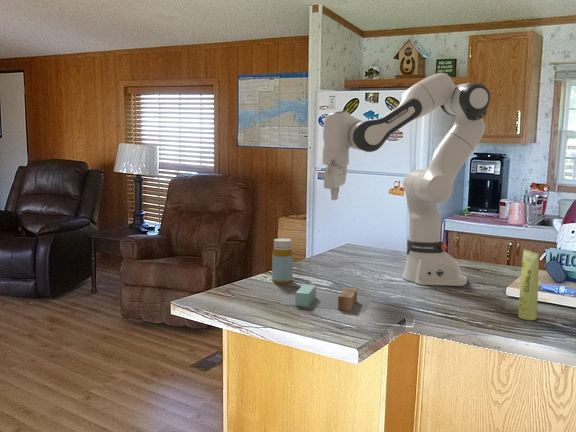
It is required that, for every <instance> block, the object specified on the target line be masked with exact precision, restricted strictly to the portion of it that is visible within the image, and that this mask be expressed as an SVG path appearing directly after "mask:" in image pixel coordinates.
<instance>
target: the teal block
mask: <svg viewBox="0 0 576 432" xmlns="http://www.w3.org/2000/svg"><path fill="white" fill-rule="evenodd" d="M296 291H297V292H296V298H295V306H296V307H304V306H305V308H310V307H309V305H310V304H311V303H312V302H313V301H314V299H315V298H316V292H317V285H314V284H302V286H301V287H300V288H299V289H297V290H296Z"/></svg>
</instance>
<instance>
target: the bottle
mask: <svg viewBox="0 0 576 432" xmlns="http://www.w3.org/2000/svg"><path fill="white" fill-rule="evenodd" d="M292 243H293V240H292V238H287V237H283V238H282V237H278V238H275V239H273V250H272V255H271V256H272V258H271V259H272V263H271V264H272V265H271V266H272V269H271V270H272V272H271V274H272V275H271V276H272V278H271V279H272V282H273V283H276V284H288V283H289V284H290V283H291V282H292V281H293V266H294V265H293V260H294V254H293V249H292Z"/></svg>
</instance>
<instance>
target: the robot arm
mask: <svg viewBox="0 0 576 432" xmlns="http://www.w3.org/2000/svg"><path fill="white" fill-rule="evenodd" d="M490 102H491V93H490V91H489V89H488V88H487V86H485V85H484V84H481V83H478V82H470V83H469V82H467V83H461V84H455V82H454V81H453V79H452V78H451V76H450V75H449V74H447V73H444V72H438V73H435V74H432V75H430V76H427V77H426V78H424V79H421V80H419V81H418V82H416V83H414V84H413V85H412V86H410V87H409V88H407V89H406V90H405V91H404V92H403V93H401V95H400V97H399V105H398V106H397V107H395V108H394V109H392V110H391V111H389V112H387V113H386V114H385V115H384V114H383V116H381V117H380V118H377V119H371V120H365V121H363V120H361V119H358V118H357V117H355V116H353V115H351V113H349V112H348V111H347V110H340V111H333V112H330V113H329V112H328V114H327V115H326V116H325V118H324V121H323V128H322V129H323V131H322V139H323V147H322V165H325V167H324V172H323V173H324V176H323V177H324V178H323V188H324V189H326V190H327V189H329V191H330V199H331V201H337V200H338V199H339V192H340V186H344V185H346V179H347V170H348V165H349V163H350V162H349V161H350V158H349V154H350V153H349V151H350V148H352V149H353V150H359V151H363V152H366V153H373V152H376V151H377V150H379V149H380V148H381V147H383V145H384V143H385V142H386V140H388V138H389V137H390V136H391V135H392V134H394V133H395V132H397V131H398V130H400V129H401V128H403V127H404V126H405V125H407V124H408V123H410V122H412V121H415V120H417V119H419V118H422V117H424V116H426V115H429V113H431V112H433V111H434V110H436V109H438V108H439V107H440V108H441V110H442V111H443V112H444V113H445V114H447V115H450V116H452V117H455V119H454V122H453V125H452V126H451V128H450V129H449V130H448V131H447V133H446V134H445V135H444V137H443V138H442V139H441V141H440V142H439V143H438V145H436V147H435V149H434V150H433V153H432V159H431V161H430V163H429V165H428V167H427V168H426V169H425V170H424V169H416V170H412V171H410V172H408V173H407V174H406V175H405V177H404V178H403V181H402V188H403V191H404V192H405V196H406V203H407V204H406V205H407V210H408V218H409V219H408V238H407V240H406V262H405V267H404V270H403V273H402V278H403V279H404V280H405V281H408V282H412V283H414V284H415V283H416V284H418V285H424V286H426V285H427V286H449V287H450V286H455V287H462V286H465V285H467V283H468V278H467V277H466V276H465V275H464V274H462V269H461V266H460V263H459V262H458V261H457V260H456V259H455V258H453V257H452V256H451V255H450V254H449V253H447V252H446V251H447V248H448V246H447V243H445V242H444V241H442V240H441V230H442V229H441V228H442V218H441V215H440V214H439V211H438V205H437V204H441V203H444V202H446V201H448V200H449V199H450V198H451V197H452V194H453V190H454V187H453V186H454V183H455V180H456V178H457V175H458V174H459V172H460V170H461V168H462V166H463V165H465V162H466V161H467V160H468V159H469V157H470V156H471V154H472V153H474V150H475V149H476V148H477V146H478V145H479V143H480V141H481V140H482V137H483V136H484V133H485V132H486V127H487V125H486V123H485V121H484V119H483V118H484V117H485V116H486V114H487V111H488V108H489V105H490Z"/></svg>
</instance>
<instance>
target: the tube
mask: <svg viewBox="0 0 576 432" xmlns="http://www.w3.org/2000/svg"><path fill="white" fill-rule="evenodd" d="M522 253H523V254H522V263H521V274H520V283H519V284H520V286H519V299H518V313H517V315H518V318H519V319H521V320H525V321H534V320H536V319H538V318H537V317H538V297H539V276H540V275H539V271H540V270H539V266H540V259H539V257H540V253H536V252H533V251H531V250H527V249H525V248H523V252H522Z"/></svg>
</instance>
